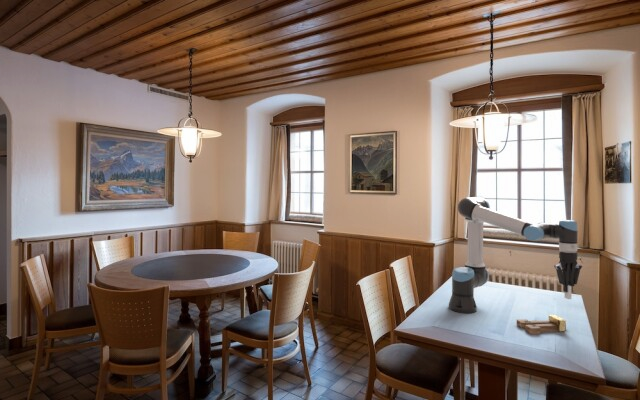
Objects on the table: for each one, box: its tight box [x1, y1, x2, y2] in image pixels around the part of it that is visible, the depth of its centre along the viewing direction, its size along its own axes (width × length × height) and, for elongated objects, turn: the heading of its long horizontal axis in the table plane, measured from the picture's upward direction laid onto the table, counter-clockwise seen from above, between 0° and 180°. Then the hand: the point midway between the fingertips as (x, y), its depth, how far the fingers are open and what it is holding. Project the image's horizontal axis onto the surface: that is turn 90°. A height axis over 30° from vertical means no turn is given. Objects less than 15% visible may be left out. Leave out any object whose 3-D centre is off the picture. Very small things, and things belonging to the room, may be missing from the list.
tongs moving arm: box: [516, 319, 567, 330], centre depth 180 cm, size 6×22×3 cm, turn 91°
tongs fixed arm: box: [524, 323, 559, 335], centre depth 174 cm, size 4×18×3 cm, turn 97°
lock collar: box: [548, 314, 567, 332], centre depth 177 cm, size 7×3×5 cm, turn 7°
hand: (567, 298), depth 177 cm, fingers closed
